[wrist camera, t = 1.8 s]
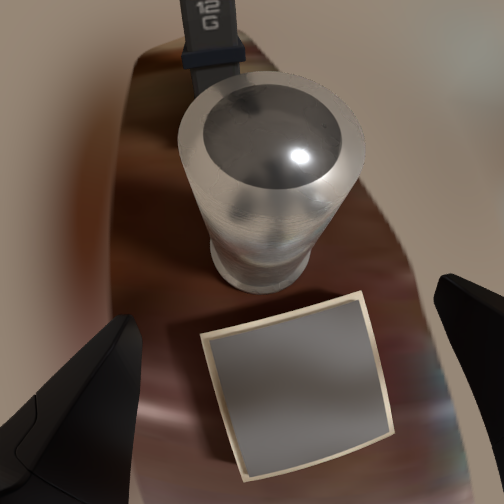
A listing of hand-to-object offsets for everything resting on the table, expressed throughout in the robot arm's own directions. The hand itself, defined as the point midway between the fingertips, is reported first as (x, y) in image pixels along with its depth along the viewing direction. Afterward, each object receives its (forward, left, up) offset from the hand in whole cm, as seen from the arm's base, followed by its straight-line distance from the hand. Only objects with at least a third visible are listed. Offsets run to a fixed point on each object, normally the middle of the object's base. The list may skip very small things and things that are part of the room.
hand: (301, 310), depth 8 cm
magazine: (+20, -1, -12) cm, 24 cm away
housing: (+5, -1, -12) cm, 13 cm away
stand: (-5, -1, -12) cm, 13 cm away
